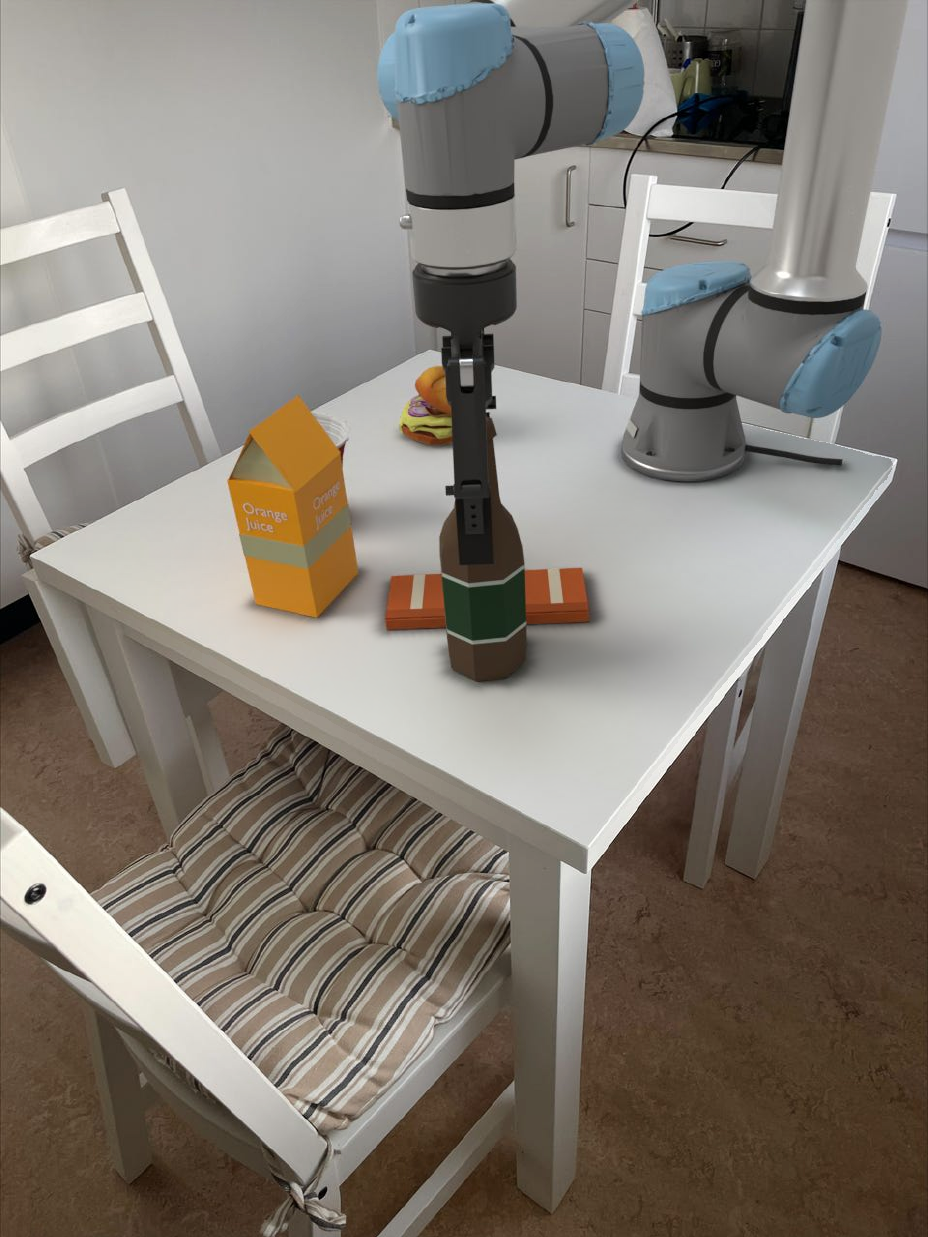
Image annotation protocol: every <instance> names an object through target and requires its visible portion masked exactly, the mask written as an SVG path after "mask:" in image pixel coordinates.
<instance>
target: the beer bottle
mask: <svg viewBox="0 0 928 1237" xmlns="http://www.w3.org/2000/svg"><path fill="white" fill-rule="evenodd" d="M486 424H487V454H488V482H490V485H491V506H492V530H493V553H494V564H478V565H459V550H458V535H457V520H456V505H455V503H454V505H453V507H452V510H451V511H450V513H449V514H448V515H447V516H446V519H445V520H444V521H443V523H442V527H441V530H440V534H439V536H438V538H439V539H438V540H439V541H438V542H439V544H438V545H439V547H438V548H439V551H438V552H439V554H438V555H439V564H440V565H439V566H440V574H441V577H442V588H443V599H444V610H445V621H446V627H445V631H446V641H447V648H448V656H449V662H450V668H451V670H452V671H454V672H456V673H458V674H460V675H462V676H464V677H466V678H468V679H470V680H473V681H474V682H483V681H484V682H485V681H493V680H494V681H495V680H503V679H507V678H508V677H510V676H511V675H512V674H513V673H514V672H516V671H517V670H518V669H519V668H520V667H522V666H523V665H524V664H525V663H526V661H527V649H528V640H527V638H528V637H527V636H528V635H527V624H526V598H525V570H526V564H525V556H524V549H523V548H524V547H523V543H522V538H521V536H520V532H519V531H520V530H519V528H518V526H517V524H516V521H515V519H514V517H513V515H512V513H511V512H510V511H509V510H508V509H507V508H506V507H505V505H503V503H502V501H501V496H500V489H499V479H498V478H499V477H498V471H497V470H498V469H497V462H496V452H495V443H494V438H495V437H496V436H497V435H498V433H497V430H496V426H495V423H494V421H493V418H492V417H491V416H490V417H486ZM451 433H452V430H451Z"/></svg>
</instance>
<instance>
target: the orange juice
mask: <svg viewBox="0 0 928 1237" xmlns="http://www.w3.org/2000/svg"><path fill="white" fill-rule="evenodd" d="M311 412H312V411H311V410H310V409H309V407H308V406H307V405H306V403H305V402H304V401H303V399H302V397H300V395H297V396H295V397H294V398H292V399H291V400H290V401H288V402H287V403H285V404H284V405H283V406H281V407H280V408H279V409H277V410H276V411H274V412H273V413H272V414H270V415H269V416H268V417H266V418H265V419H264V420H262V421H261V422H260V423H258V424H257V425H256V426H254V427H252V428H251V429H250V430H248V433H249V434H248V435H247V438H246V440H245V443H244V444H243V447H242V449H241V452H240V454H239V455H238V458H237V460H236V462H235V464H234V466H233V468H232V471H231V473H230V475H229V477H228V479H226V483H227V486H228V490H229V494H230V499H231V503H232V508H233V512H234V516H235V520H236V525H237V530H238V536H239V540H240V545H241V548H242V553H243V556H244V560H245V563H246V567H247V572H248V576H249V580H250V585H251V589H252V593H253V594H252V595H253V598H254V603H255V605H258V606H262V607H266V608H272V609H275V610H280V611H284V612H288V613H289V612H290V613H294V614H299V615H303V616H307V617H312V618H319V617H320V616H321V615H322V613H323V612H324V611H325V610H326V609H327V608H328V607H329V606H330V605H331V604H332V603H333V602H334V600H335V599H336V598H337V597H338V596H339V595H340V594H341V593H342V592H343V591H344V589H346V588H347V586H348V585H350V583H351V582H352V581H353V580H354V579H355V578H356V577H357V575H358V574H359V568H358V567H359V566H358V561H357V554H356V549H355V542H354V535H353V528H352V518H351V512H350V506H349V501H348V496H347V495H348V494H347V489H346V482H345V476H344V469H343V468H344V467H343V468H342V462H341V455H340V453H341V452H340V451H339V449H338V448H337V447H336V445H335V444H334V443H333V441H332V440H331V439H330V437H329V436H328V435H327V433H326V432H325V431H324V429H323V428H322V426H321V425H320V424H319V422H318V421H317V420H316V418H315V417H314V416H313V414H312V413H311Z"/></svg>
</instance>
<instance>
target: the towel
mask: <svg viewBox="0 0 928 1237" xmlns="http://www.w3.org/2000/svg"><path fill="white" fill-rule="evenodd" d="M525 598H526V625H541V624H543V625H545V624H567V623H589V621H590V608H589V602H588V596H587V590H586V583H585V577H584V572H583V567H563V568H559V567H558V568H544V569H543V568H541V569H525ZM384 615H385V616H384V623H385V630H386V631H391V630H393V631H394V630H417V629H441V628H442V629H443V628H444V629H446V621H445V610H444V599H443V588H442V577H441V573H421V574H417V573H416V574H402V575H400V574H398V575H391V576H390V583H389V589H388V596H387V603H386V610H385V614H384Z"/></svg>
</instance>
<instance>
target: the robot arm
mask: <svg viewBox="0 0 928 1237" xmlns="http://www.w3.org/2000/svg"><path fill="white" fill-rule="evenodd" d="M639 1H640V0H470V1H469V2H467V3H461V4H447V5H434V6H423V7H417V8H412V9H409V10H407V11H404V13H403V14H402V15H400V16H399V18H398V19H397V22H396V24H395V27H394V31H393V32H392V33H391V35H389V37H388V38H387V40H386V41H385V43H384V44H383V46H382V47H381V51H380V54H379V57H378V61H377V69H376V70H377V71H376V81H377V88H378V92H379V95H380V98H381V100H382V103H383V105H384V107H385V109H386V111H387V112H388V113H389V115H390V116H391V117H393V119H394V120H396V121H397V122H398V126H399V136H400V146H401V156H402V165H403V176H404V185H405V187H404V188H405V195H406V197H405V198H406V201H407V202H406V203H407V205H406V206H407V208H406V209H407V212H408V213H407V214H403V215H400V218H399V221H398V223H399V227H400V228H401V229H402V230H411V232H410V234H409V241H410V243H409V245H410V255H411V258H412V260H414V261H415V262H416V263H417V264H416V266H415V267H414V269H413V270H412V271H411V275H412V277H411V278H412V288H413V299H414V300H413V302H414V311H415V315H416V317H417V319H418V320H419V321H420V322H422V324H425V325H427V326H428V327H432V328H436V329H438V328H439V329H440V328H441V329H444V330H446V331H448V332H449V333H450V335H442V336H441V338H442V339H441V340H442V342H441V343H442V347H441V350H440V352H441V354H440V356H441V366H442V367H443V371H444V372H445V378H446V398H447V403H448V404H449V406H451V416H452V439H453V442H452V459H453V460H452V461H453V482H454V483H453V485H445V488H444V489H445V496H447V497H448V496H453V498H454V504H455V505H456V520H457V535H458V550H459V565H478V564H494V553H493V530H492V506H491V485H490V482H488V454H487V424H486V417H490V418H491V415H490V414H491V412H489V411H487V410H497V395H493V380H492V378H493V375H492V373H493V371H494V369H495V366H496V364H495V342H494V340H495V339H494V333H485V328H487V327H490V326H497V325H501V324H502V323H504V322H506V321H508V320H509V319H511V318H512V317H513V315H515V313H516V311H517V307H518V301H517V300H518V299H517V297H518V296H517V265H516V264H515V263H514V262H513V260H512V259H511V258H513V256H514V255H515V254H516V252H517V214H516V211H517V210H516V191H515V188H516V187H515V165H516V164H515V160H519V159H525V158H527V157H531V156H536V155H542V154H546V153H551V152H554V151H559V150H564V149H565V150H566V149H569V148H574V147H575V148H576V147H580V146H583V145H585V146H587V147H589V146H593V145H595V144H596V143H598V142H600V141H602V140H606V139H609V138H611V137H614V136H616V135H619V134H620V133H622V132H623V131H624V130H626V129H627V128H628V127H629V126H630V124H631V123H632V122H633V121H634V120H635V118H636V116H637V114H638V112H639V110H640V107H641V104H642V102H643V98H644V87H645V65H644V60H643V57H642V53H641V51H640V48H639V46H638V44H637V42H636V41H635V39H634V38H633V37H632V35H631V34H630V33H629V32H628V31H627V30H625V29H624V28H623V27H621V26H619V25H617V24H614V23H611V22H612V21H613V20H615V19H616V18H618V17H619V16H621V15H622V14H623V13H624V12H626V11H627V10H628V9H630V8H631V7H633V6H634V5H635V4H637V3H638V2H639ZM908 5H909V0H805V7H804V12H803V19H802V26H801V32H800V38H799V39H800V40H799V47H798V54H797V59H796V66H795V74H794V82H793V88H792V94H791V101H790V106H789V107H790V108H789V115H788V121H787V128H786V136H785V142H784V148H783V149H784V150H783V154H782V161H781V162H782V163H781V169H780V175H779V183H778V189H777V198H776V203H775V211H774V218H773V224H772V230H771V238H770V244H769V250H768V258H767V262H766V263H765V265H764V266H763V267H761V268H760V269H759V270H758V271H757V272H755V273H754V274H753V275H751V268H750V267H749V266H748V265H747V264H745V263H743V262H740V261H733V260H709V261H708V260H707V261H697V262H689V263H684V264H679V265H675V266H672V267H668V268H665V269H663V270H660V271H658V272H657V273H655V274H654V275H653V276H651V277H650V278H649V279H648V281H647V283H646V285H645V288H644V289H645V290H644V298H643V307H642V309H641V311H640V313H641V334H640V335H641V336H640V358H639V360H640V362H639V363H640V365H639V386H638V388H639V389H638V397H637V399H636V402H635V405H634V407H633V410H632V412H631V415H630V417H629V418H628V421H627V424H626V426H625V431H624V432H623V435H622V441H621V458H622V459H623V461H624V462H625V463H626V464H627V466H629V467H630V468H632V469H633V470H634V471H637V472H638V473H641V474H643V475H645V476H649V477H651V478H655V479H660V480H665V481H673V482H699V481H701V482H702V481H708V480H712V479H713V480H714V479H717V478H720V477H721V478H722V477H723V476H726V475H729V474H731V473H733V472H735V471H736V470H737V469H738V468H740V467H741V466H742V464H743V463H744V461H745V458H746V452H748V453H754V454H760V455H766V456H772V457H779V458H783V459H788V460H794V461H797V462H799V461H800V462H803V463H804V462H805V463H809V464H816V465H824V466H839V467H841V466H842V465H843V458H829V457H820V456H813V455H807V454H802V453H797V452H791V451H786V450H781V449H774V448H769V447H762V446H757V445H751V444H749V445H748V444H747V443H746V441H747V440H746V436H745V430H744V426H743V422H742V418H741V413H740V409H739V404H738V401H737V400H738V399H737V396H738V397H740V398H742V399H746V400H749V401H753V402H755V403H759V404H762V405H763V406H768V407H771V408H774V409H777V410H779V411H781V412H782V413H784V414H796V415H798V416H799V415H800V416H803V417H807V418H811V419H820V418H825V417H827V416H830V415H832V414H834V413H836V412H837V411H839V410H840V409H841V408H842V407H844V406H845V405H846V404H847V403H848V402H849V401H850V400H851V399H852V397H853V396H854V395H855V393H856V392H857V391H858V390H859V388H860V387H861V385H862V384H863V383H864V381H865V380H866V378H867V376H868V374H869V373H870V371H871V368H872V366H873V364H874V362H875V360H876V356H877V354H878V351H879V348H880V345H881V340H882V334H883V333H882V330H883V328H882V326H881V324H882V322H881V319H880V317H879V316H878V315H877V314H876V313H874V312H873V311H872V310H871V309H865V308H864V307H865V301H866V297H867V293H868V287H869V285H868V283H867V280H865V279H864V277H863V276H862V275H861V273H860V272H859V271H858V270H857V263H858V257H859V252H860V246H861V243H862V238H863V232H864V227H865V222H866V218H867V213H868V206H869V201H870V197H871V192H872V186H873V182H874V176H875V171H876V167H877V162H878V156H879V151H880V146H881V141H882V137H883V131H884V126H885V122H886V115H887V110H888V106H889V101H890V96H891V91H892V86H893V80H894V75H895V71H896V65H897V62H898V56H899V49H900V46H901V40H902V35H903V29H904V26H905V19H906V14H907V10H908Z"/></svg>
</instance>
